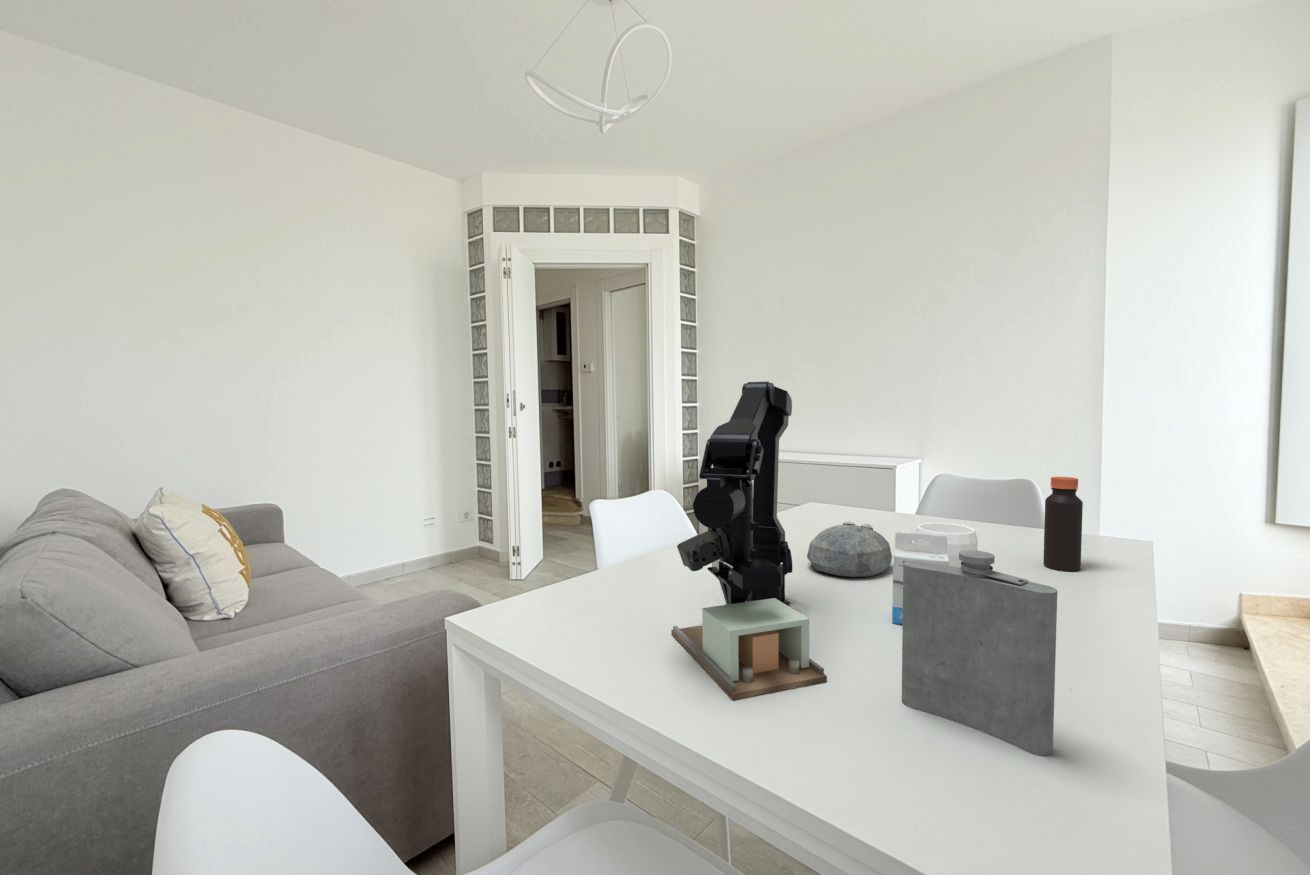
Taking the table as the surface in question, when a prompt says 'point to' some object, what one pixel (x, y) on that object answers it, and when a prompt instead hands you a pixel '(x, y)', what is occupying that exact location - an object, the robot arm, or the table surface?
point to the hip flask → (981, 649)
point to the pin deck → (749, 669)
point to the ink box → (913, 552)
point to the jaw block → (759, 651)
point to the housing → (752, 631)
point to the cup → (950, 538)
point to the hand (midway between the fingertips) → (733, 616)
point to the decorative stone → (850, 551)
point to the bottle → (1063, 525)
